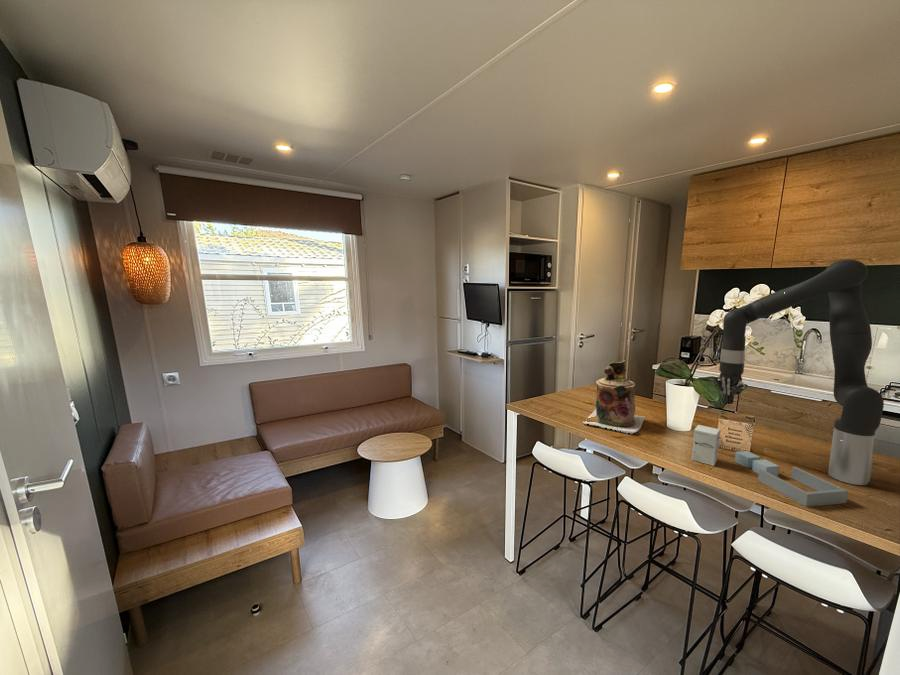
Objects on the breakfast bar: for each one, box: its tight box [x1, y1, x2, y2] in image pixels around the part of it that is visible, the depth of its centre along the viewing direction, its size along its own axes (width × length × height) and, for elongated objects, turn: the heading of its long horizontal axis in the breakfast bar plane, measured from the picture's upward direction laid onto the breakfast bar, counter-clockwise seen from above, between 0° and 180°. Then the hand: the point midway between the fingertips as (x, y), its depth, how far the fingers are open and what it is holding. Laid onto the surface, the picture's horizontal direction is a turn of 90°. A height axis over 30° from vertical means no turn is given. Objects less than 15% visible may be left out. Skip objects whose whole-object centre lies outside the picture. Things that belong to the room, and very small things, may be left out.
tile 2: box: [751, 459, 780, 478], centre depth 128 cm, size 5×5×4 cm
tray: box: [757, 466, 849, 507], centre depth 116 cm, size 14×15×4 cm
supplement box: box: [691, 424, 721, 467], centre depth 138 cm, size 7×7×13 cm
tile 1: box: [734, 450, 761, 469], centre depth 135 cm, size 5×5×4 cm
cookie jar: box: [582, 359, 646, 435], centre depth 176 cm, size 25×25×32 cm
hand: (728, 403), depth 142 cm, fingers closed
